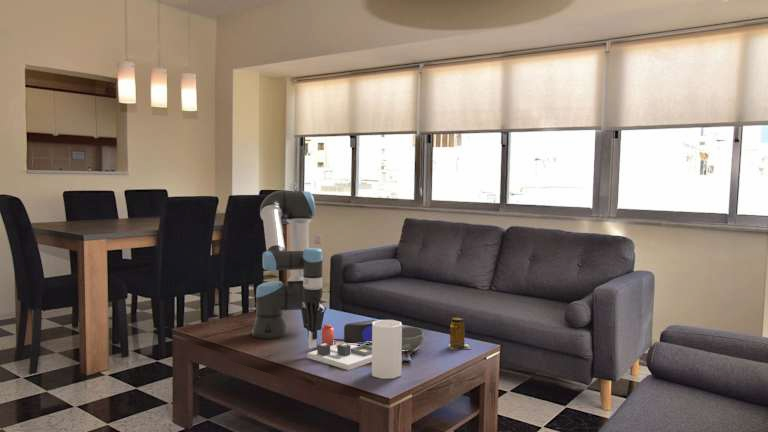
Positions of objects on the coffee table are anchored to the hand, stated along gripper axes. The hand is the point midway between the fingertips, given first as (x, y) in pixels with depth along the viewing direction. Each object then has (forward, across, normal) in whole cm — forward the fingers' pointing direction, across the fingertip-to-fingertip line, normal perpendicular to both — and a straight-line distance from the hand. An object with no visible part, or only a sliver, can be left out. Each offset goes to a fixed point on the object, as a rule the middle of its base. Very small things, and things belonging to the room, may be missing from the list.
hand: (312, 347), depth 223 cm
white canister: (+4, +35, +3) cm, 36 cm away
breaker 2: (+2, +12, +5) cm, 13 cm away
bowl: (+4, +21, +30) cm, 37 cm away
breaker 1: (+2, +6, 0) cm, 6 cm away
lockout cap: (+4, -5, +13) cm, 14 cm away
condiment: (+4, +36, +50) cm, 62 cm away
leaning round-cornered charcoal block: (+4, +2, +26) cm, 26 cm away
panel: (+4, +11, +7) cm, 14 cm away
